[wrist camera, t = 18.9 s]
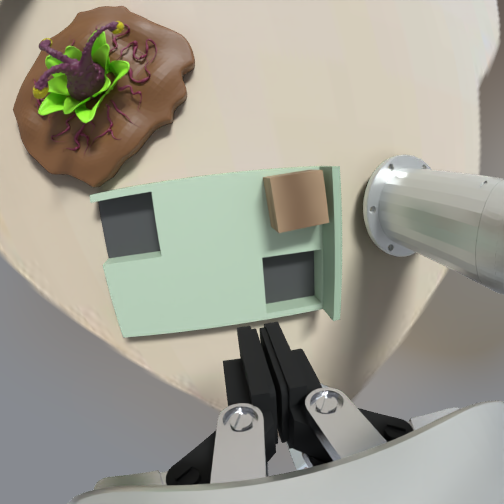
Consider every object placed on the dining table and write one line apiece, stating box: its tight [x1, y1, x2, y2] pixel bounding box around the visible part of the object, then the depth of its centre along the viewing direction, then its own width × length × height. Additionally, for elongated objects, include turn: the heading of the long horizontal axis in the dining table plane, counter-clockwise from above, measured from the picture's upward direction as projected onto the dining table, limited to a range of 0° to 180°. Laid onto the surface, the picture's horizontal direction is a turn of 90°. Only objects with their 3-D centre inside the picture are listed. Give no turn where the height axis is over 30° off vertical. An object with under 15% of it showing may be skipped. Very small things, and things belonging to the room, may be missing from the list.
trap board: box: [90, 166, 342, 338], centre depth 29 cm, size 24×16×6 cm, turn 95°
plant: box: [13, 6, 195, 187], centre depth 19 cm, size 20×20×11 cm
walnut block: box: [263, 170, 329, 233], centre depth 27 cm, size 5×5×3 cm
